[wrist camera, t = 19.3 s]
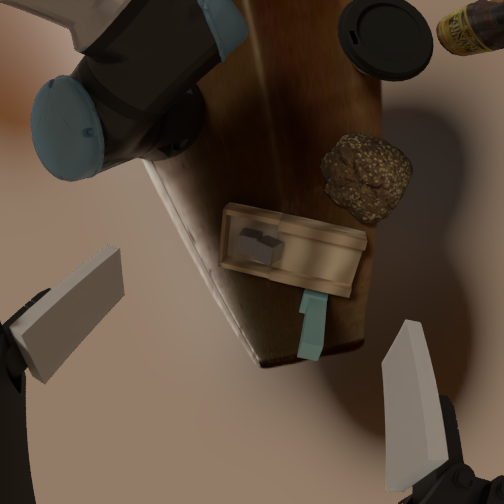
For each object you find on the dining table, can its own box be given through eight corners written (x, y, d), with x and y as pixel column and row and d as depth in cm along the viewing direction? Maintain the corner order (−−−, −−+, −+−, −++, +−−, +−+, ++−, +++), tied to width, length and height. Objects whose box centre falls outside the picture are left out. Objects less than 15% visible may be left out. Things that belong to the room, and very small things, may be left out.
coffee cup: (413, 82, 34) (451, 74, 21) (348, 94, 37) (357, 88, 24) (391, 19, 30) (417, -16, 17) (325, 30, 34) (322, -4, 21)
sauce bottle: (426, 26, 29) (483, -16, 12) (456, 14, 27) (520, -25, 9) (450, 65, 31) (522, 48, 14) (479, 52, 28) (556, 35, 11)
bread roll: (421, 166, 39) (430, 173, 35) (374, 230, 46) (378, 244, 41) (349, 114, 39) (351, 115, 35) (305, 184, 45) (302, 193, 41)
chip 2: (264, 252, 50) (253, 258, 48) (267, 234, 48) (255, 240, 46) (280, 259, 48) (269, 266, 46) (283, 241, 47) (272, 248, 45)
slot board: (365, 231, 46) (367, 241, 43) (348, 286, 50) (348, 297, 47) (229, 202, 49) (222, 209, 46) (224, 257, 54) (217, 267, 51)
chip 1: (259, 248, 51) (241, 244, 51) (262, 231, 49) (243, 227, 50) (255, 256, 48) (236, 252, 49) (258, 239, 47) (238, 234, 47)
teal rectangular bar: (328, 292, 52) (323, 344, 41) (322, 310, 54) (316, 363, 43) (305, 286, 53) (295, 338, 41) (300, 305, 54) (289, 357, 43)
